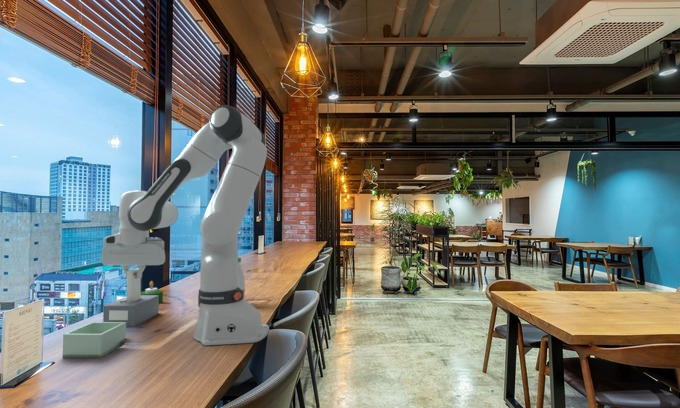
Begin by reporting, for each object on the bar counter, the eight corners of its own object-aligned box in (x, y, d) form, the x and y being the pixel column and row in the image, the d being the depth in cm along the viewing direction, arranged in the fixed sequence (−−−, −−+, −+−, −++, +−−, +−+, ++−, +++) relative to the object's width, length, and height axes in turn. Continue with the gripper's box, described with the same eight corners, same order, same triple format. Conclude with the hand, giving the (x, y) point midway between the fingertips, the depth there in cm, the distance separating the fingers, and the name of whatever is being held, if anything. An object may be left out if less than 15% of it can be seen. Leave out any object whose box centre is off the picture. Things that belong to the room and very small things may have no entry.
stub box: (125, 343, 97) (126, 322, 97) (100, 358, 87) (101, 334, 87) (91, 342, 97) (92, 322, 97) (62, 357, 87) (63, 334, 87)
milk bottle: (246, 304, 139) (247, 256, 139) (241, 310, 131) (242, 258, 132) (227, 304, 138) (228, 256, 139) (221, 310, 131) (222, 258, 131)
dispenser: (158, 317, 121) (158, 293, 121) (133, 331, 107) (134, 304, 107) (130, 317, 121) (131, 293, 122) (102, 331, 107) (103, 303, 107)
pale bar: (140, 300, 117) (140, 268, 117) (131, 304, 112) (131, 271, 112) (135, 300, 117) (136, 268, 117) (126, 304, 112) (126, 271, 112)
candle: (166, 304, 139) (167, 280, 139) (146, 309, 132) (146, 283, 132) (155, 301, 143) (156, 278, 143) (135, 306, 136) (135, 281, 136)
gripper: (169, 236, 118) (168, 276, 118) (111, 237, 118) (111, 276, 118) (159, 238, 112) (158, 279, 111) (98, 238, 112) (97, 280, 112)
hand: (133, 278), depth 115 cm, fingers closed on pale bar, 2 cm apart
